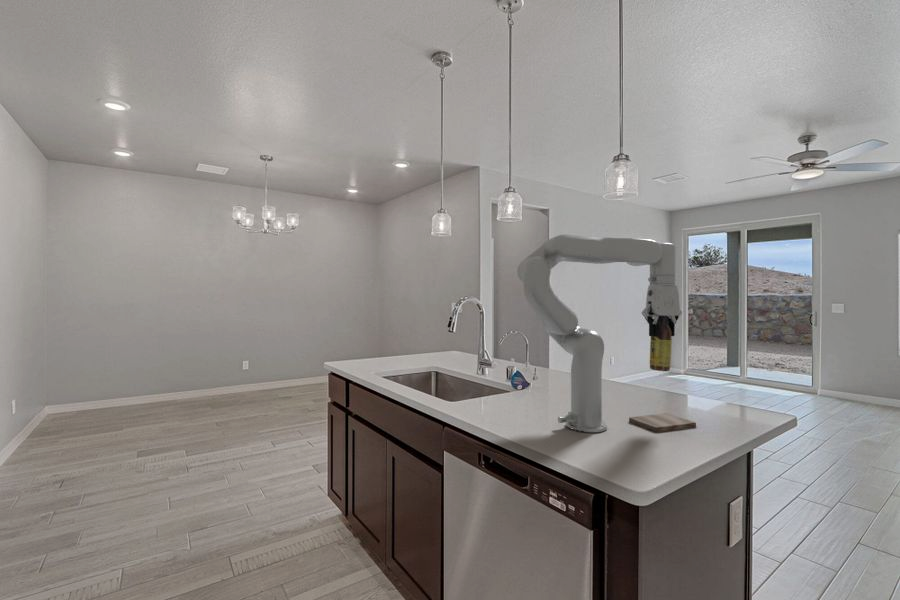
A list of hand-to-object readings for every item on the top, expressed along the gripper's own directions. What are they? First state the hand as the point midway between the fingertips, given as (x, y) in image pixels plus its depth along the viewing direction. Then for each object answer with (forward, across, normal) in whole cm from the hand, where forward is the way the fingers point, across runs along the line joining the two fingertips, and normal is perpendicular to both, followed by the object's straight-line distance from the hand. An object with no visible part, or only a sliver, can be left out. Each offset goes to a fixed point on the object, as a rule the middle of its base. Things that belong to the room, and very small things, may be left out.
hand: (661, 335), depth 144 cm
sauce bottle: (+12, 0, 0) cm, 12 cm away
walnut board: (+29, 0, 0) cm, 29 cm away
